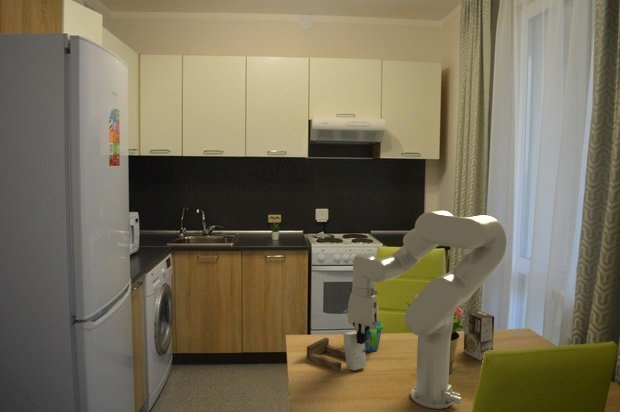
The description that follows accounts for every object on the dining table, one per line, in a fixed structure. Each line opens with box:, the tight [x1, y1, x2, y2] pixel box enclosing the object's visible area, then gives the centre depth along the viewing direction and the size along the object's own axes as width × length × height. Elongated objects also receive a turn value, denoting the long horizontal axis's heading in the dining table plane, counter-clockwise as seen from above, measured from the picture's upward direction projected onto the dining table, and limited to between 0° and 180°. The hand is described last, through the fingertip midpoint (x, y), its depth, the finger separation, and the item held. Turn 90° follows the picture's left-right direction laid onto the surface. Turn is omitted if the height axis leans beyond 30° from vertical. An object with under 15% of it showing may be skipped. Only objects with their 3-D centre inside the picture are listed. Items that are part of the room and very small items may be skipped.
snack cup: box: [364, 320, 384, 353], centre depth 168 cm, size 16×10×10 cm
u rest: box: [306, 337, 346, 372], centre depth 157 cm, size 14×12×5 cm
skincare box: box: [342, 330, 368, 371], centre depth 151 cm, size 6×4×12 cm
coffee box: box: [463, 309, 495, 361], centre depth 163 cm, size 9×6×16 cm
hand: (361, 342), depth 149 cm, fingers closed
